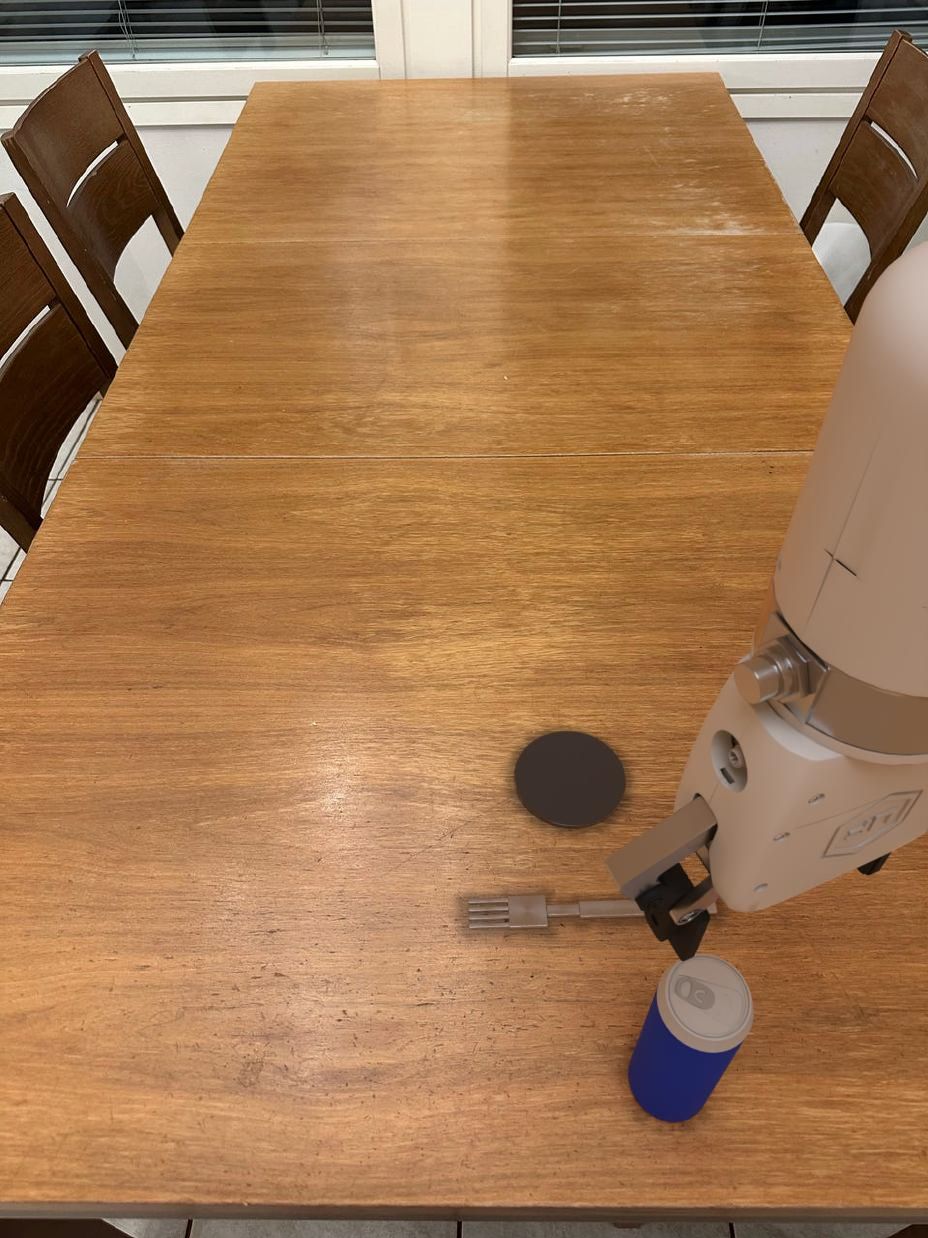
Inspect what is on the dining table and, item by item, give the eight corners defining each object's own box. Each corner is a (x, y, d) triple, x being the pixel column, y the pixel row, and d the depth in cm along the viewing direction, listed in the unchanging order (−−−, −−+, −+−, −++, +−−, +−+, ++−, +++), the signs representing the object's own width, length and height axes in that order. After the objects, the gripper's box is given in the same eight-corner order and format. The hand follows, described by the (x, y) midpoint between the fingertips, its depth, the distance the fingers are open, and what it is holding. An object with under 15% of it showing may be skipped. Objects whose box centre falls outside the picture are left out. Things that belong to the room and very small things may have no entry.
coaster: (641, 759, 78) (642, 757, 78) (598, 847, 73) (599, 844, 72) (542, 718, 81) (543, 715, 81) (494, 799, 76) (494, 796, 75)
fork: (711, 891, 70) (712, 889, 70) (718, 922, 69) (719, 920, 68) (468, 899, 70) (468, 897, 70) (469, 930, 68) (469, 928, 68)
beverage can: (716, 1061, 62) (768, 972, 51) (694, 1140, 59) (744, 1064, 48) (641, 1027, 64) (675, 933, 53) (616, 1102, 61) (646, 1020, 49)
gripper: (715, 837, 25) (637, 1047, 38) (1180, 638, 30) (971, 886, 43) (582, 643, 30) (552, 888, 43) (1002, 495, 34) (861, 757, 47)
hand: (761, 887), depth 43 cm, fingers open, 9 cm apart
